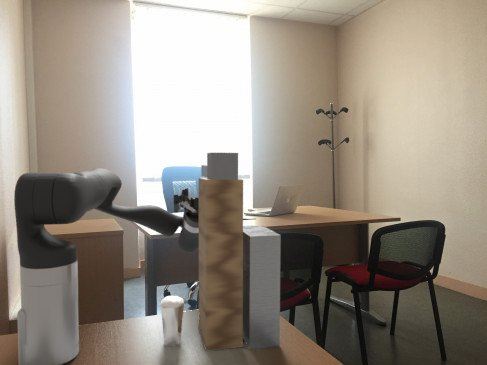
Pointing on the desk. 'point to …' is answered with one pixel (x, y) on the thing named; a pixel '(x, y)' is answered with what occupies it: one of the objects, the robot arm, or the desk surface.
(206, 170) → the block
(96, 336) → the desk surface
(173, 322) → the milkshake
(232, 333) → the walnut stand
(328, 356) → the desk surface
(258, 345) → the tall grey pillar
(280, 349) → the desk surface
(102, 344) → the desk surface
